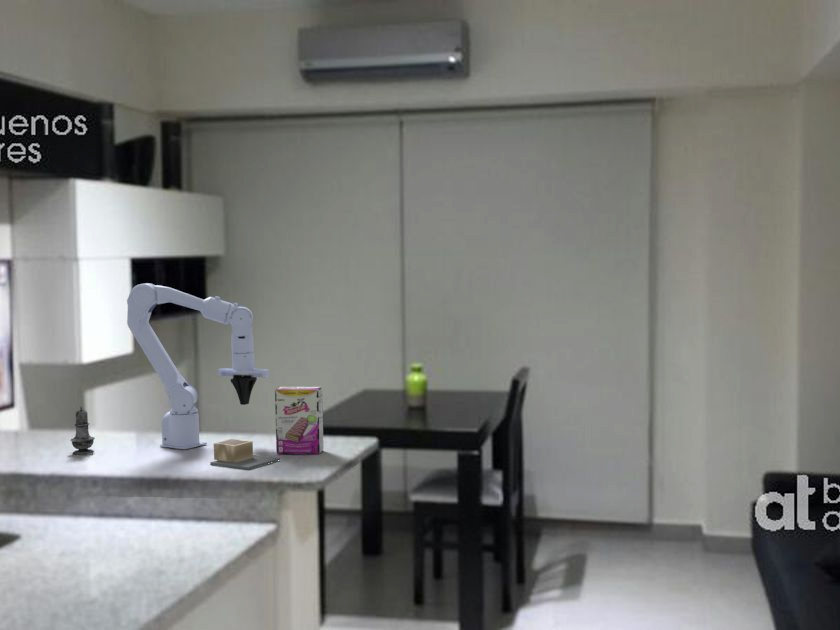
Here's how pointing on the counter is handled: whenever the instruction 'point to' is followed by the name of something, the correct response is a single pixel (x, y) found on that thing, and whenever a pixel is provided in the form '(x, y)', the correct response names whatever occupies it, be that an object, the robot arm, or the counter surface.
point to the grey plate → (246, 462)
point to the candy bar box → (299, 420)
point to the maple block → (233, 450)
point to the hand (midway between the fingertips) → (244, 404)
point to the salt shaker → (82, 434)
